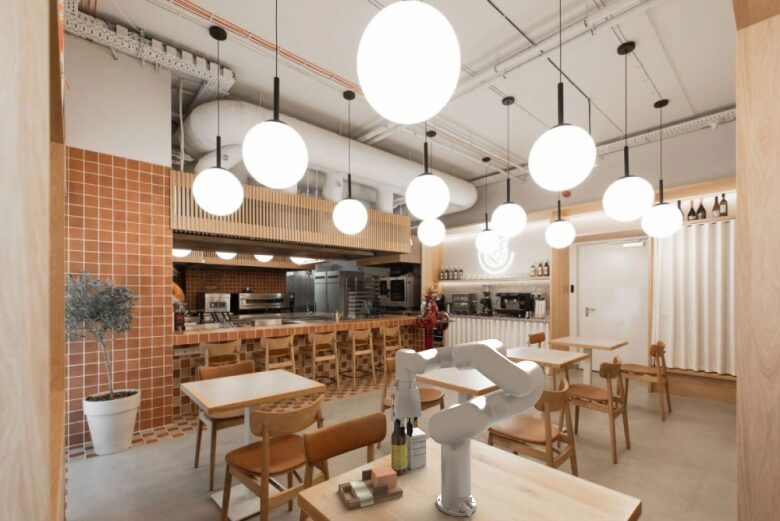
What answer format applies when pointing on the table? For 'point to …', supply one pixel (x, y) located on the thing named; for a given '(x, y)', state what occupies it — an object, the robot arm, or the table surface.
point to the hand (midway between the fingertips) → (405, 435)
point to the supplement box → (416, 449)
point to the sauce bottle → (398, 451)
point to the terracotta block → (383, 476)
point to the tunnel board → (368, 492)
